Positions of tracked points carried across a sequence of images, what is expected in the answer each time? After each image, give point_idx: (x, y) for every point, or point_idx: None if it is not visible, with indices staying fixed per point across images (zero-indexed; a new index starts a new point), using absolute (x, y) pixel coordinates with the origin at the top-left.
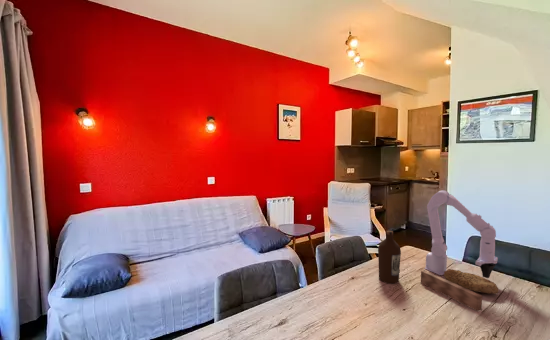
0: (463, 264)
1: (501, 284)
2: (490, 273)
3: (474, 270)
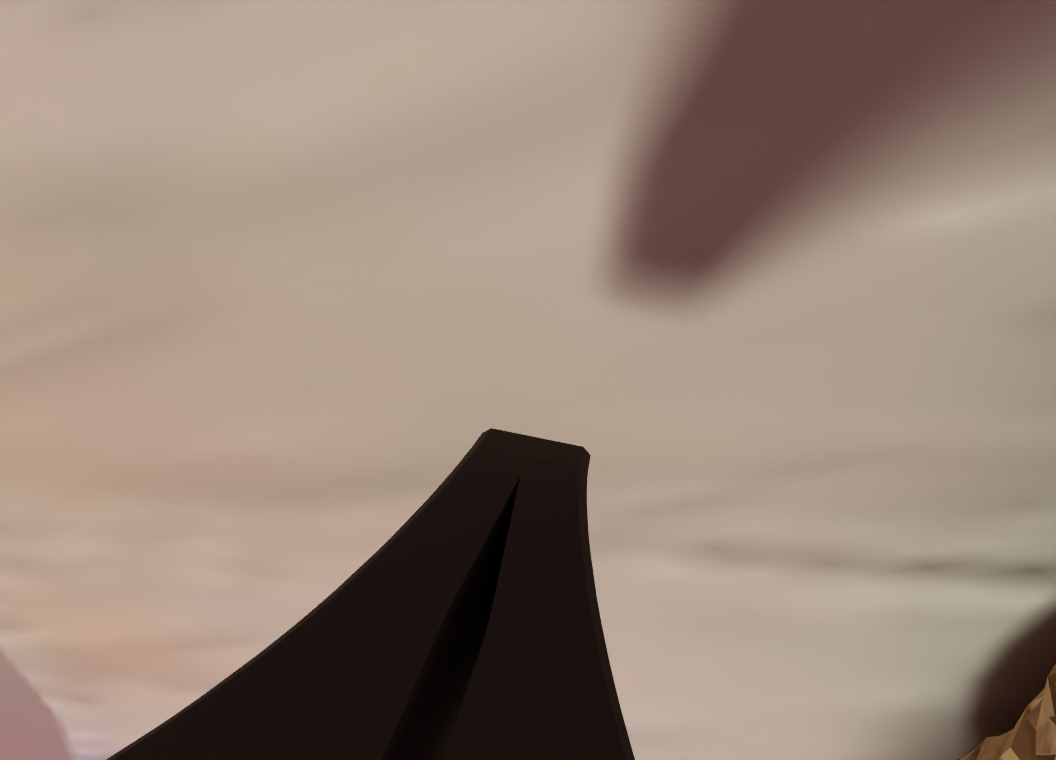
0: (133, 737)
1: (226, 70)
2: (424, 544)
3: (157, 623)
